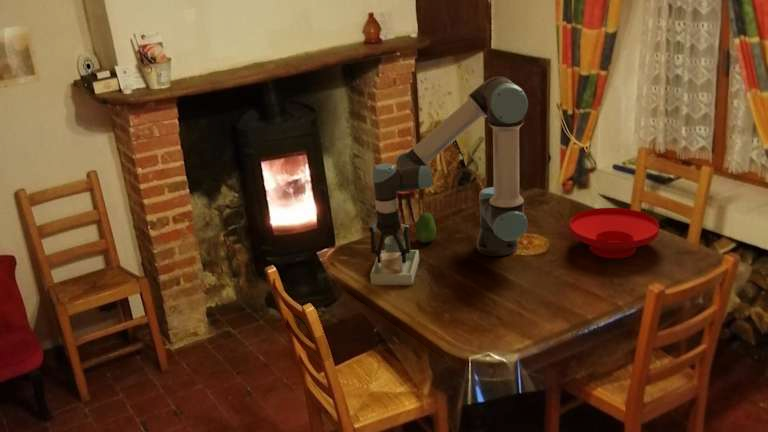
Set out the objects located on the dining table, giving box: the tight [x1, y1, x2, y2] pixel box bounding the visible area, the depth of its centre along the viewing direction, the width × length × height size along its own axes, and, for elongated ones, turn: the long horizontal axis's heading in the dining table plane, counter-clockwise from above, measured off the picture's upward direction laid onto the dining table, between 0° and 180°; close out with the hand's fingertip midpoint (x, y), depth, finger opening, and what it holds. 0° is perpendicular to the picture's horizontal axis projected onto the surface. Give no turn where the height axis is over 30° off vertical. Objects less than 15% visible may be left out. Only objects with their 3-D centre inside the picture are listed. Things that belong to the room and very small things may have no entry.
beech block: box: [382, 253, 401, 274], centre depth 283 cm, size 6×6×6 cm
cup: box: [384, 235, 407, 265], centre depth 291 cm, size 8×8×10 cm
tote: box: [369, 249, 420, 286], centre depth 290 cm, size 14×19×4 cm
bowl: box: [568, 207, 660, 259], centre depth 291 cm, size 30×30×10 cm
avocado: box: [414, 212, 437, 244], centre depth 310 cm, size 8×8×12 cm
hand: (392, 270), depth 284 cm, fingers closed on beech block, 6 cm apart
